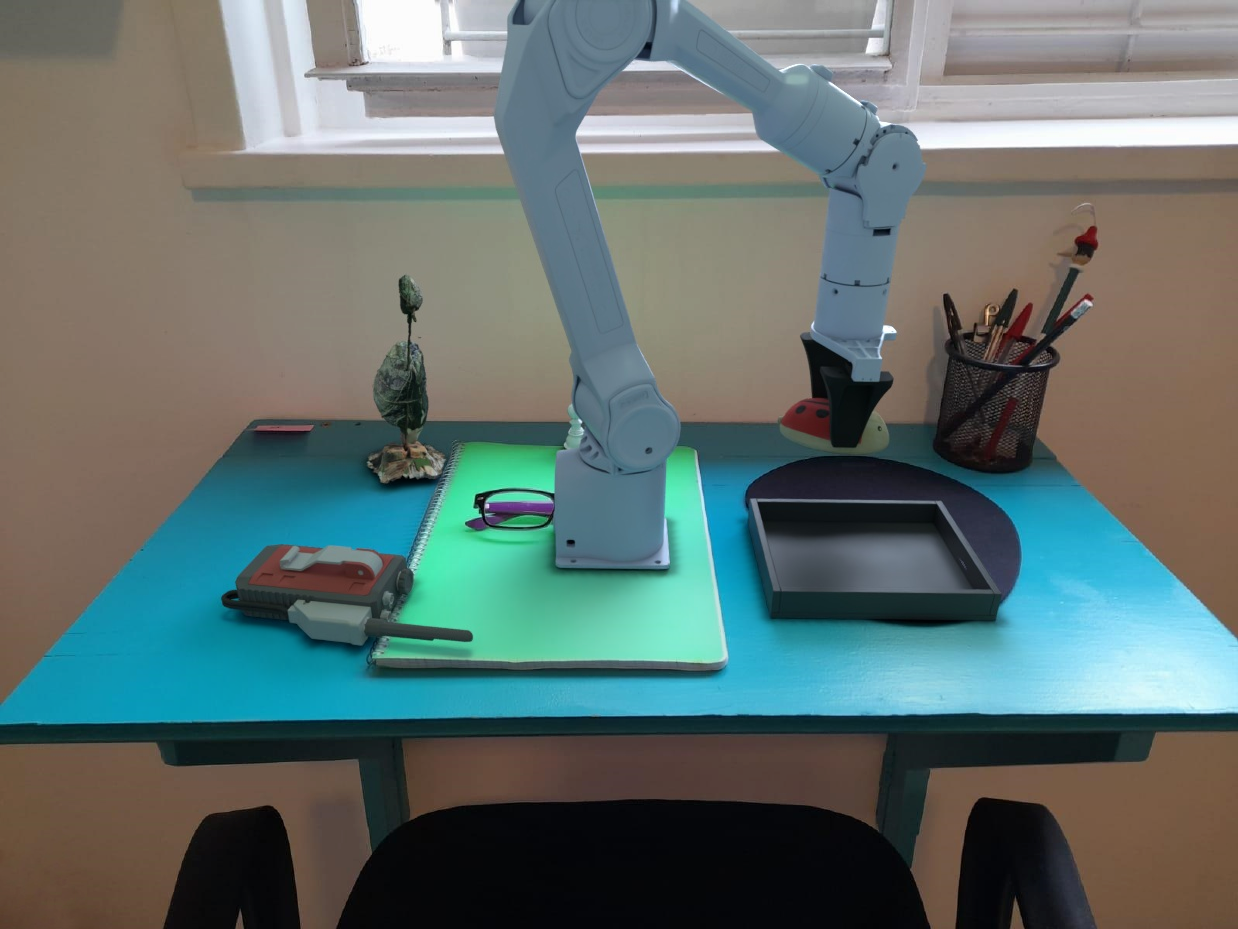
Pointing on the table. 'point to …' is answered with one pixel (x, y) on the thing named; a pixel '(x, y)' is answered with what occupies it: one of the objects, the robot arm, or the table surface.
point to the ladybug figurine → (812, 429)
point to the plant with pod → (405, 402)
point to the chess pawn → (573, 430)
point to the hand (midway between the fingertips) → (834, 427)
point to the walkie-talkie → (331, 593)
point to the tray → (867, 561)
